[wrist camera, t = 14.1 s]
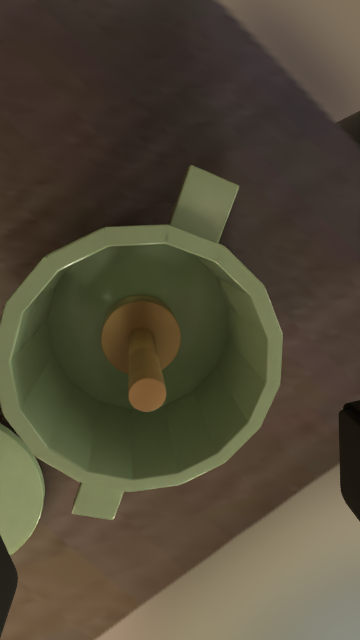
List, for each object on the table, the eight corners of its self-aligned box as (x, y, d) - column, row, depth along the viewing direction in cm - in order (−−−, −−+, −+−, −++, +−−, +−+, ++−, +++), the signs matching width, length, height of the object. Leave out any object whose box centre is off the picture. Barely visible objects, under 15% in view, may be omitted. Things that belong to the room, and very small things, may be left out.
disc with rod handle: (187, 307, 22) (223, 357, 14) (163, 372, 23) (182, 456, 15) (115, 284, 21) (106, 323, 13) (94, 353, 22) (71, 432, 14)
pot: (280, 229, 22) (352, 230, 15) (185, 458, 26) (205, 545, 19) (82, 146, 19) (54, 99, 12) (8, 421, 23) (-46, 508, 16)
